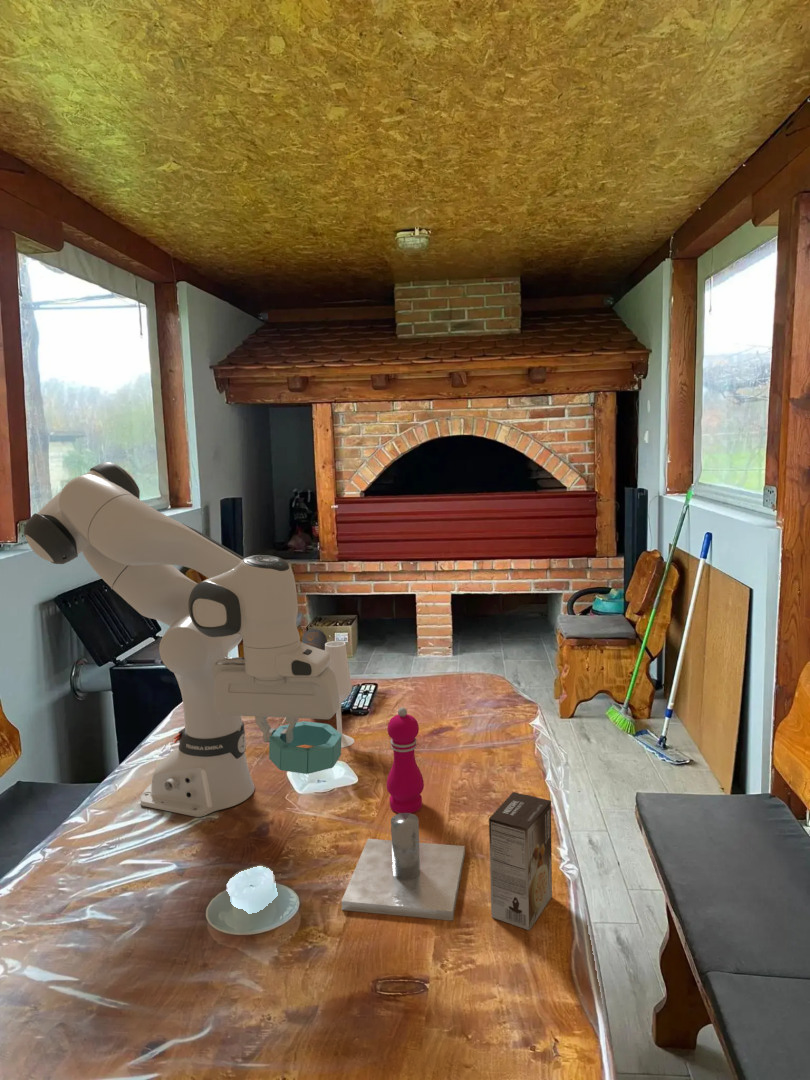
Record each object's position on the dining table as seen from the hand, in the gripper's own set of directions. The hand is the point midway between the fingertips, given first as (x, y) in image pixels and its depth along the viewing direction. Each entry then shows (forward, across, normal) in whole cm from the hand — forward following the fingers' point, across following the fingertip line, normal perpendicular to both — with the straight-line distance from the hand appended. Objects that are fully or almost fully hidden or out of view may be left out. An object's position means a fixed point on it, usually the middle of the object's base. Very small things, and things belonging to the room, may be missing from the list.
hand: (278, 741), depth 114 cm
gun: (+23, -18, +66) cm, 72 cm away
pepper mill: (+24, +15, +24) cm, 37 cm away
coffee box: (+24, +38, -2) cm, 45 cm away
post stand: (+23, +20, +1) cm, 31 cm away
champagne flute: (+24, -6, +51) cm, 57 cm away
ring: (+2, +4, 0) cm, 5 cm away
